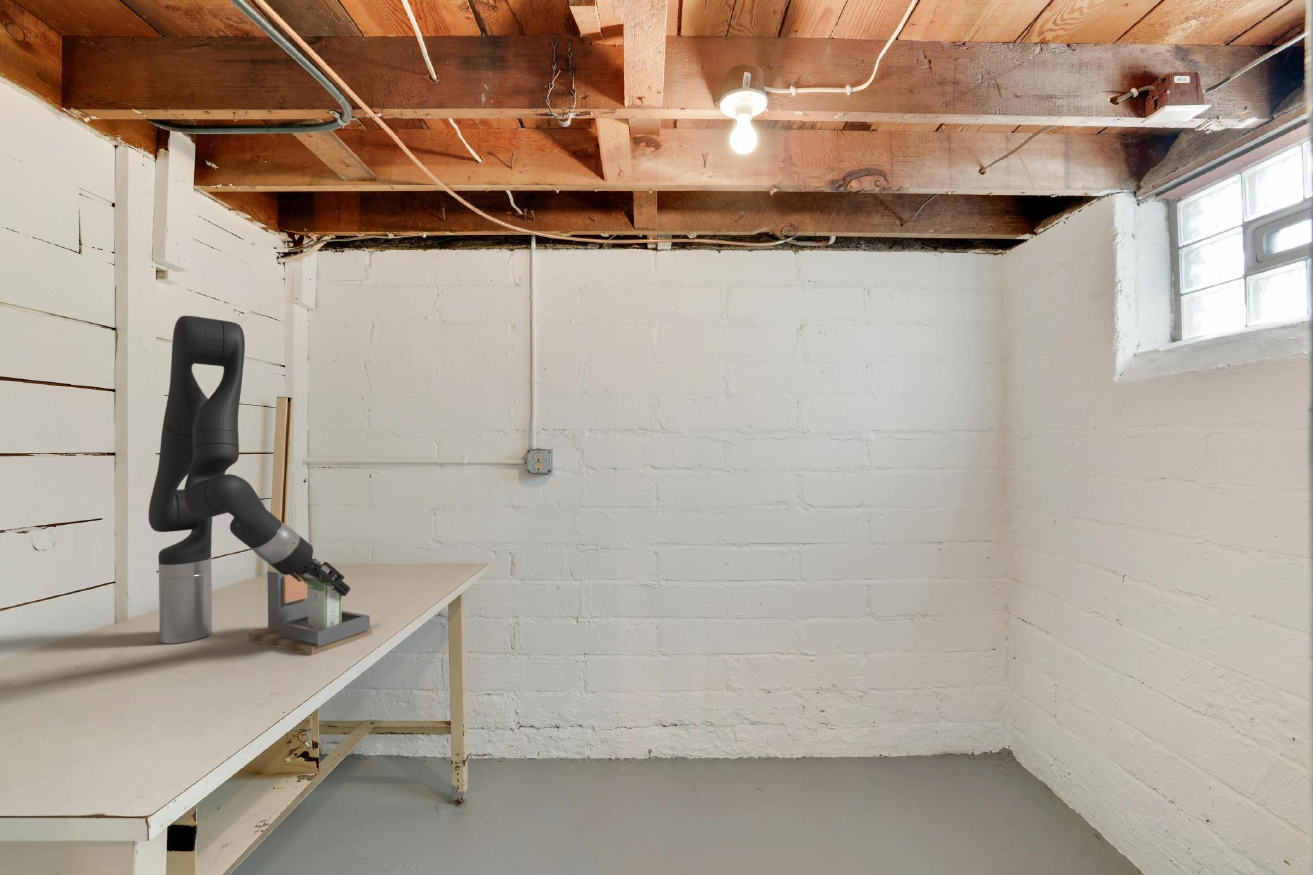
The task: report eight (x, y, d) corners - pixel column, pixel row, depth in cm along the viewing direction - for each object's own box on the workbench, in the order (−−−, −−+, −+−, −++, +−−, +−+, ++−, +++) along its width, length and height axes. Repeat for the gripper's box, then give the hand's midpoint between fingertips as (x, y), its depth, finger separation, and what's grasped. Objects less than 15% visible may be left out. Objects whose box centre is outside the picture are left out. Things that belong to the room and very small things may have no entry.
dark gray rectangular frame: (263, 633, 128) (262, 620, 128) (316, 618, 139) (315, 605, 139) (318, 646, 119) (317, 631, 119) (369, 628, 130) (369, 615, 130)
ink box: (342, 625, 127) (342, 564, 127) (324, 630, 124) (323, 567, 124) (325, 620, 131) (325, 561, 131) (307, 625, 128) (306, 564, 128)
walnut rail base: (249, 639, 129) (249, 632, 129) (310, 621, 141) (310, 615, 141) (311, 655, 119) (311, 647, 119) (372, 633, 131) (372, 627, 131)
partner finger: (268, 628, 131) (267, 571, 131) (299, 619, 138) (298, 564, 138) (281, 631, 129) (280, 573, 129) (311, 622, 135) (311, 566, 135)
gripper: (316, 534, 119) (367, 579, 129) (274, 530, 125) (326, 573, 135) (290, 565, 114) (345, 609, 124) (247, 560, 120) (303, 602, 131)
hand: (335, 590), depth 130 cm, fingers closed on ink box, 7 cm apart
